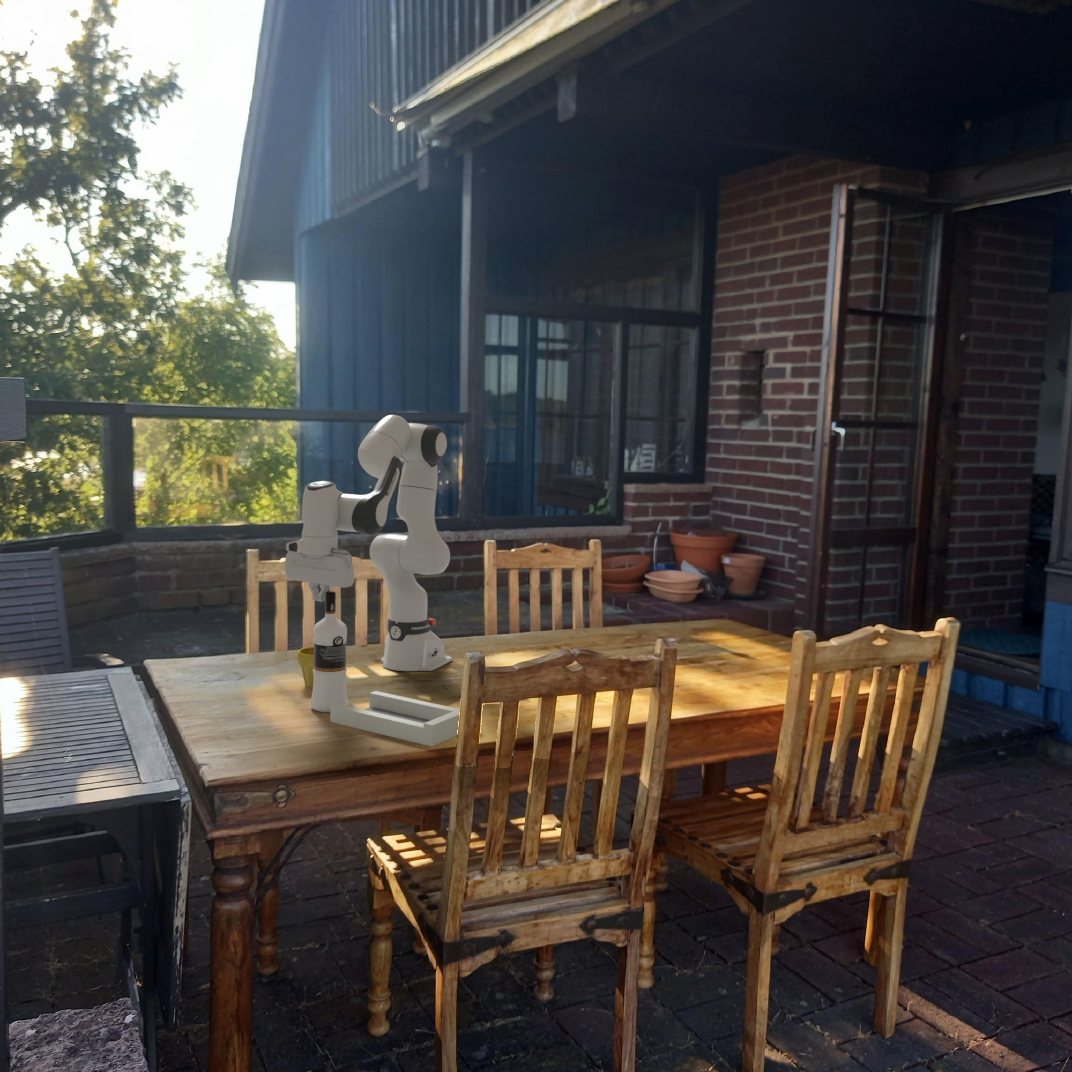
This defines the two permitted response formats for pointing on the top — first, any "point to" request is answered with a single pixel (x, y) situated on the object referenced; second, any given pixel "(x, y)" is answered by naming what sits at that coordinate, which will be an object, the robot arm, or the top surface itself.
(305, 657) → the plant pot
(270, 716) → the top surface
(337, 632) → the vodka
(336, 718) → the cradle
